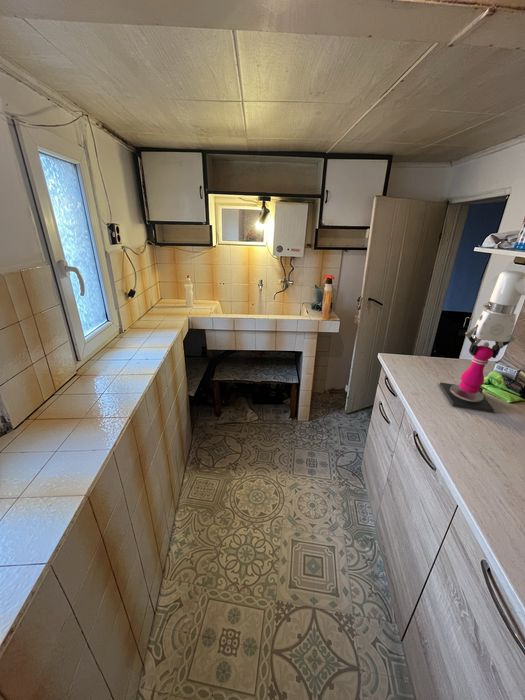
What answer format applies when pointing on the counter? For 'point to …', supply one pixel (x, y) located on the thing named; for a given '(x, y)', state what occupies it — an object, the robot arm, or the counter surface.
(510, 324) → the robot arm
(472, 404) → the scale
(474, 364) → the pepper mill
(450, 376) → the counter surface
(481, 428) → the counter surface
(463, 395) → the weighing plate
